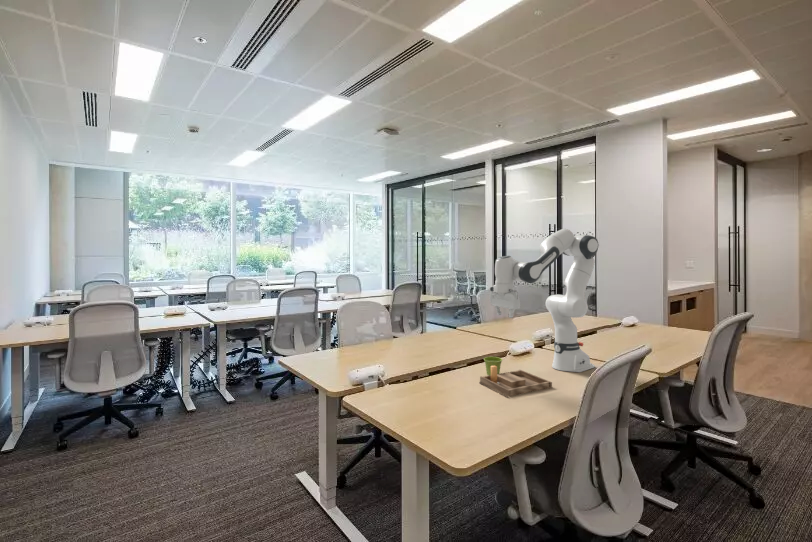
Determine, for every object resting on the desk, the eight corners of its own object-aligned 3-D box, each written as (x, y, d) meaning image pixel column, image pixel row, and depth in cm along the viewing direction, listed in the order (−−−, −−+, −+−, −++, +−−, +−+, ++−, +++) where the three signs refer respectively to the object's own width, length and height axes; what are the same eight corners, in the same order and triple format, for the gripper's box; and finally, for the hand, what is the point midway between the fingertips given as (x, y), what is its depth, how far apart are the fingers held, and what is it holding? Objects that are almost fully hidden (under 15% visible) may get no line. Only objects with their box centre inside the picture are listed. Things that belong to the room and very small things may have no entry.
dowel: (494, 381, 192) (494, 365, 192) (498, 383, 189) (498, 366, 189) (489, 382, 191) (489, 366, 190) (493, 384, 188) (493, 367, 188)
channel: (521, 376, 203) (521, 369, 202) (552, 389, 182) (552, 382, 182) (479, 383, 193) (479, 376, 193) (507, 398, 173) (507, 390, 172)
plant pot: (501, 373, 208) (501, 356, 208) (503, 378, 199) (503, 361, 199) (483, 372, 209) (482, 356, 209) (484, 378, 200) (484, 361, 200)
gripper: (523, 289, 191) (523, 318, 191) (497, 286, 210) (497, 313, 210) (512, 290, 188) (512, 319, 189) (487, 287, 207) (487, 314, 208)
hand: (504, 316), depth 200 cm, fingers open, 8 cm apart
